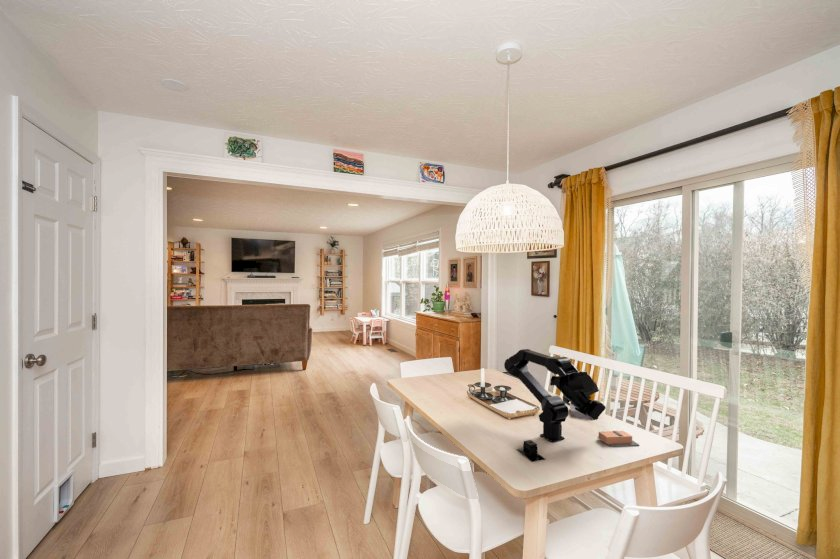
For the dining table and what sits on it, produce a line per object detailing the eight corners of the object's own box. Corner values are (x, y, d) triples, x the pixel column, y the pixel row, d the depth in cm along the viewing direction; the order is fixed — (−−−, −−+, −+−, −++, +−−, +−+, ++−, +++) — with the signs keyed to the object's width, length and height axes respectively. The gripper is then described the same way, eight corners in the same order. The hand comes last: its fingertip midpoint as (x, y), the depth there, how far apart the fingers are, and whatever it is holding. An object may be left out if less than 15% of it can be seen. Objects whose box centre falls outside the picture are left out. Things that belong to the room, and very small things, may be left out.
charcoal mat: (611, 446, 134) (611, 445, 134) (597, 437, 142) (597, 436, 142) (639, 445, 136) (639, 444, 136) (624, 436, 143) (624, 435, 143)
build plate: (550, 462, 123) (550, 448, 123) (532, 466, 121) (532, 452, 121) (527, 446, 135) (528, 434, 135) (510, 449, 132) (510, 436, 132)
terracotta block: (606, 436, 136) (632, 435, 137) (598, 430, 140) (623, 429, 142) (606, 444, 136) (632, 443, 137) (598, 438, 140) (623, 437, 142)
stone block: (574, 422, 162) (598, 419, 160) (572, 411, 163) (596, 408, 161) (568, 413, 174) (591, 411, 172) (566, 403, 174) (589, 400, 172)
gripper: (600, 380, 128) (629, 411, 130) (570, 368, 147) (595, 395, 149) (579, 404, 127) (608, 435, 129) (551, 388, 145) (576, 416, 147)
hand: (597, 418), depth 138 cm, fingers closed
